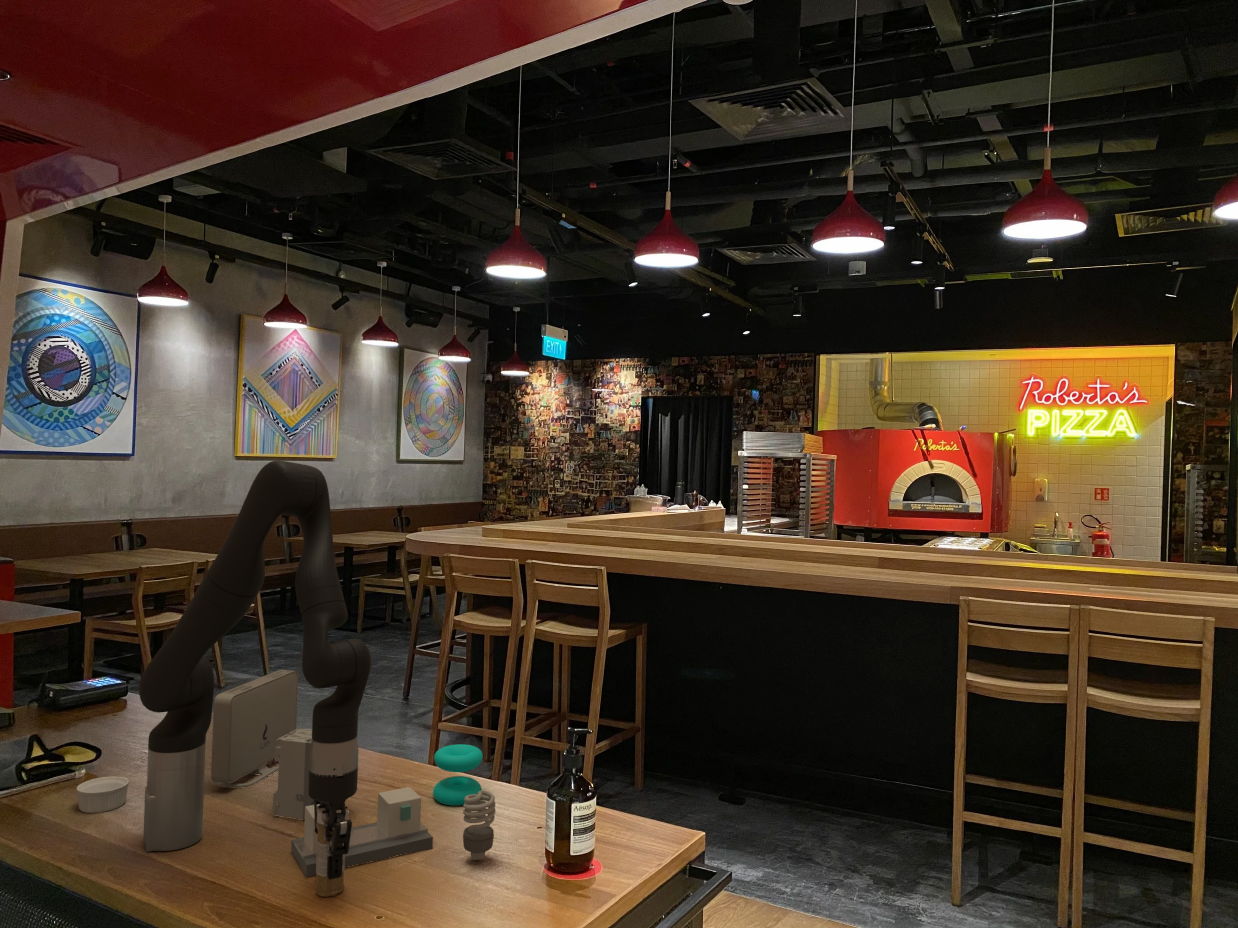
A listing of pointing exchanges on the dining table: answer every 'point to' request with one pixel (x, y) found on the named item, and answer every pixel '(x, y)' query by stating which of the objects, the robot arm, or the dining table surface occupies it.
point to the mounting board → (370, 850)
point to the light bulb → (479, 835)
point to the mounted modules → (380, 815)
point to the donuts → (457, 761)
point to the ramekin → (102, 794)
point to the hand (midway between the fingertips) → (330, 870)
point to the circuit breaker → (293, 774)
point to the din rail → (360, 839)
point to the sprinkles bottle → (325, 865)
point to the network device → (252, 726)
